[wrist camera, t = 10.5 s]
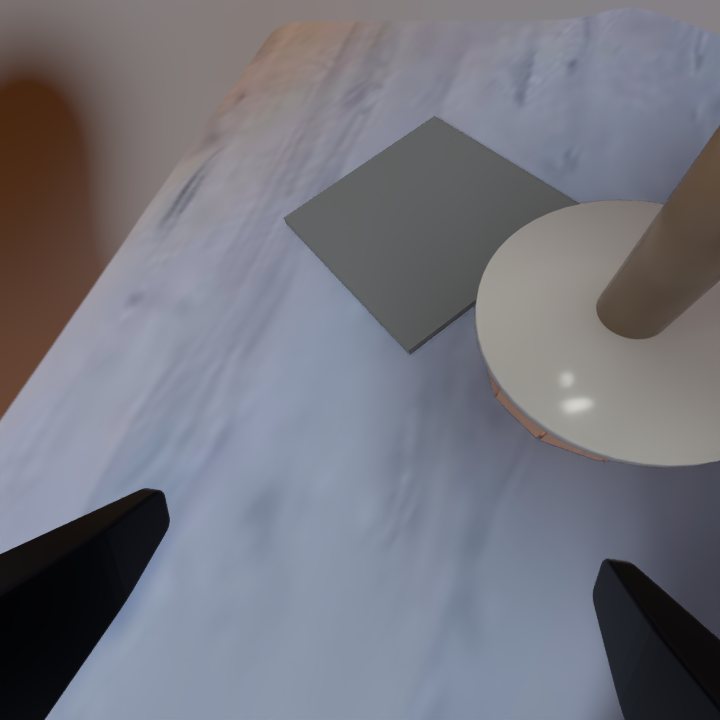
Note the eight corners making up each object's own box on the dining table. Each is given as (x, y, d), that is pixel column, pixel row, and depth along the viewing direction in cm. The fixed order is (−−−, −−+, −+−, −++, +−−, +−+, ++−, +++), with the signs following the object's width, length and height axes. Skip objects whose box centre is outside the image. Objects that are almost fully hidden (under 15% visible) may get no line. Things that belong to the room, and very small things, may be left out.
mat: (588, 217, 26) (591, 211, 25) (409, 354, 24) (409, 350, 24) (434, 122, 33) (434, 116, 32) (286, 223, 31) (283, 217, 30)
